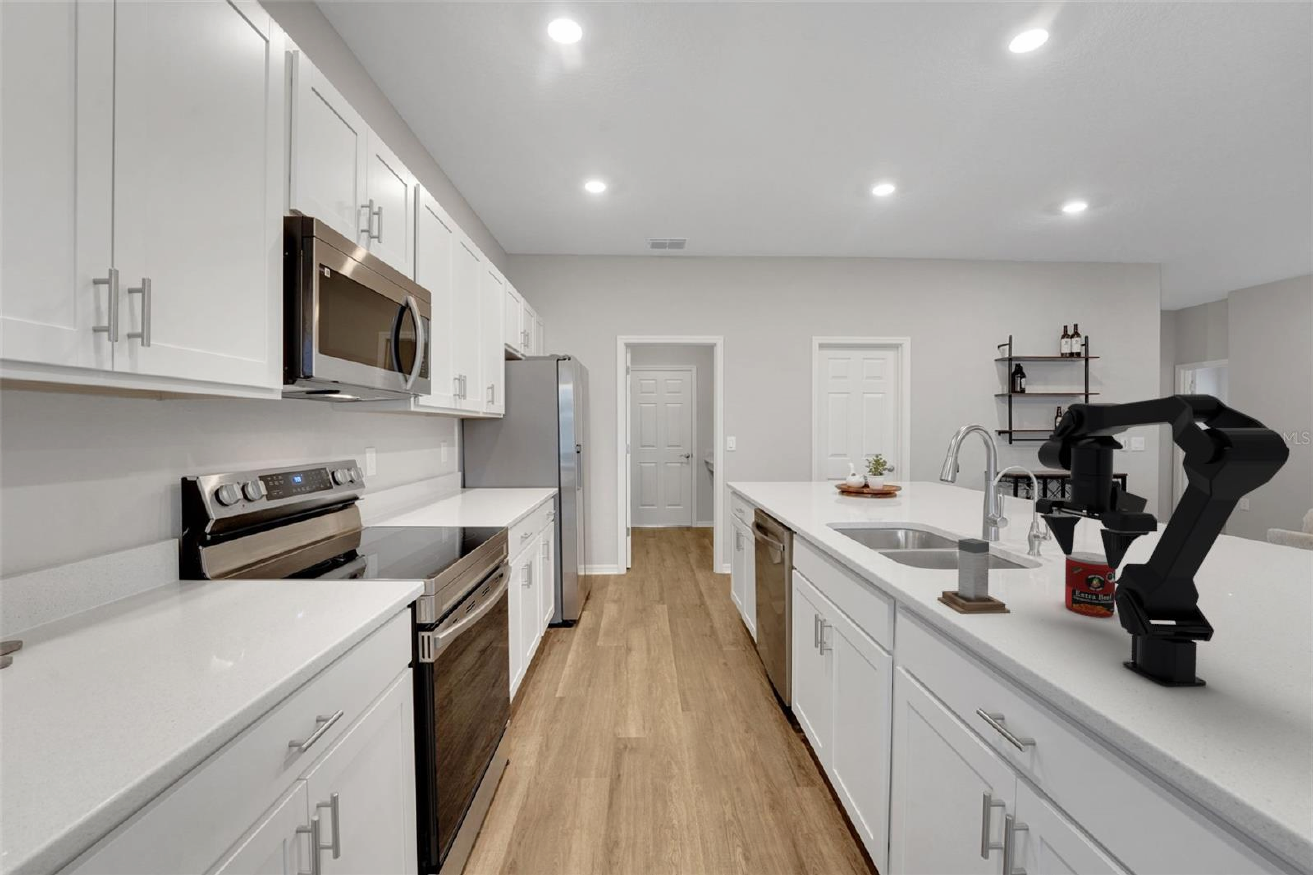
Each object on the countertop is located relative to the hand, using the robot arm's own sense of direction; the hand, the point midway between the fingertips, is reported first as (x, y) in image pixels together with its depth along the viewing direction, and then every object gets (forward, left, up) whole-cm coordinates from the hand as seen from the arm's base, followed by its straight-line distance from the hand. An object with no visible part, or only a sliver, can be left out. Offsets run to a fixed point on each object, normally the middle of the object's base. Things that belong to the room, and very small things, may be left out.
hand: (1089, 561), depth 91 cm
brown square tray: (+14, +11, -13) cm, 23 cm away
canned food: (+11, -10, -13) cm, 20 cm away
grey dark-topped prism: (+14, +11, -12) cm, 22 cm away
